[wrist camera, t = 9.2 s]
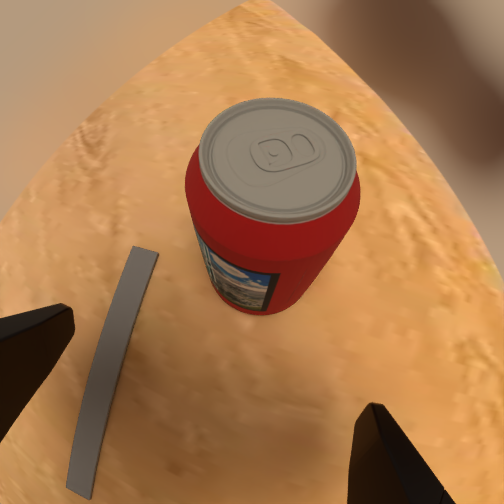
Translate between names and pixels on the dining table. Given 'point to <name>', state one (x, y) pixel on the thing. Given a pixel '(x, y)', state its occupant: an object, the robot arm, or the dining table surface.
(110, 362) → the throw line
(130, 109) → the dining table surface
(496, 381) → the dining table surface
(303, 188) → the beverage can
